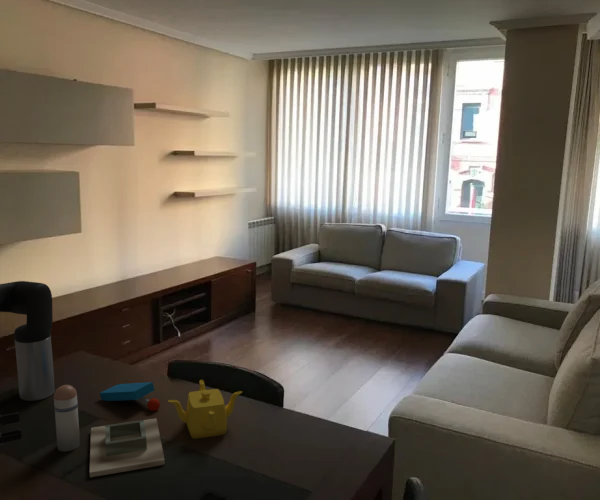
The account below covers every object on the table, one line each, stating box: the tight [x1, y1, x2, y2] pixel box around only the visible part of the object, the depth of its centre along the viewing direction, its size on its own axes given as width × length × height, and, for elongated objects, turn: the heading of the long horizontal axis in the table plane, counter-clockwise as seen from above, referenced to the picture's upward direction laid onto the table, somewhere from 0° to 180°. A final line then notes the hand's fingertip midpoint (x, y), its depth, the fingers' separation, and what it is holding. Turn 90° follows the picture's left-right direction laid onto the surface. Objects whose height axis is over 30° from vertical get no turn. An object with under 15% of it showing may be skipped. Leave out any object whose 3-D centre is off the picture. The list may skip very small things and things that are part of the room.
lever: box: [99, 381, 161, 412], centre depth 153 cm, size 7×7×18 cm
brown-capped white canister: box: [53, 384, 81, 453], centre depth 130 cm, size 5×5×16 cm
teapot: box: [167, 379, 243, 440], centre depth 141 cm, size 15×14×10 cm
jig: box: [89, 417, 166, 478], centre depth 131 cm, size 20×16×4 cm
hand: (20, 424), depth 125 cm, fingers open, 8 cm apart
